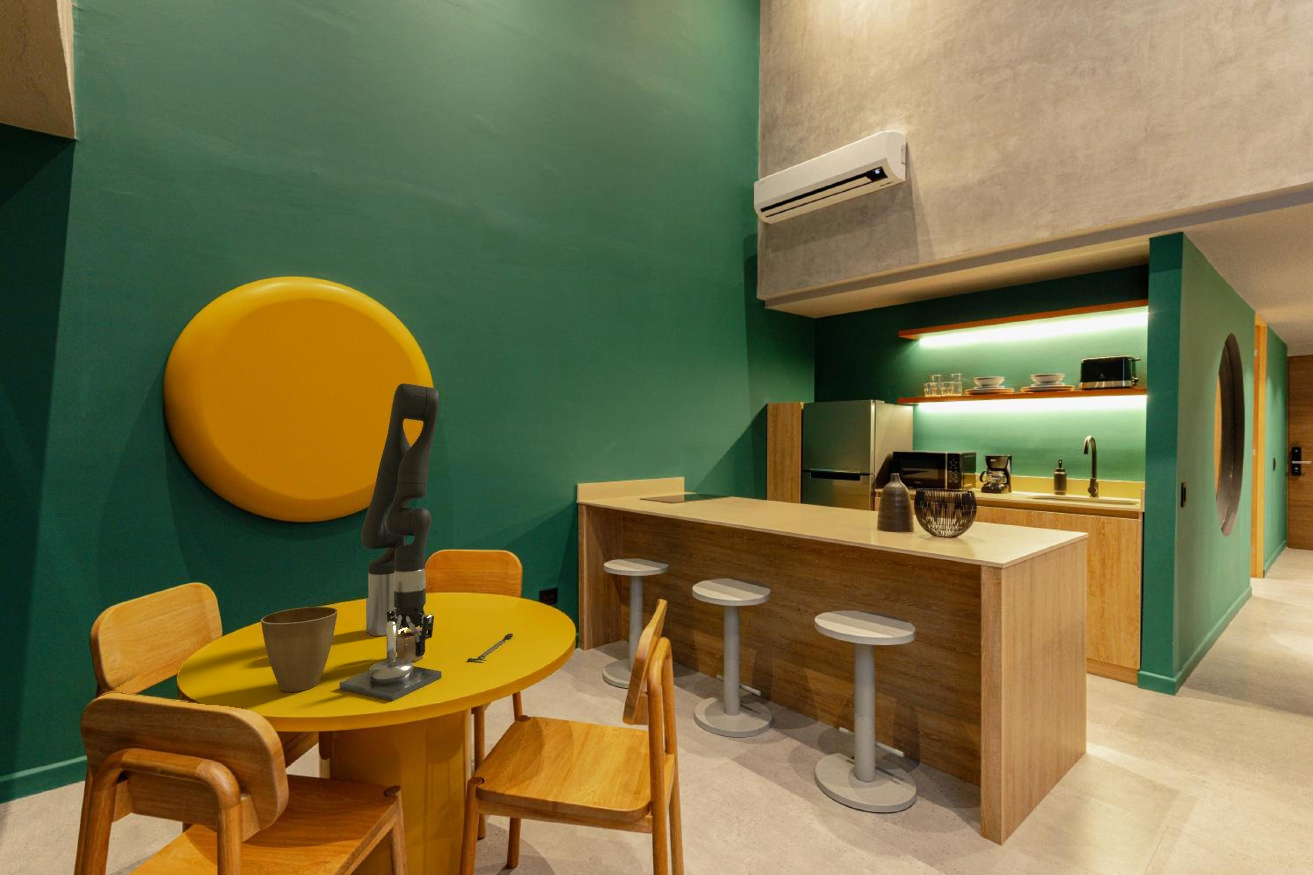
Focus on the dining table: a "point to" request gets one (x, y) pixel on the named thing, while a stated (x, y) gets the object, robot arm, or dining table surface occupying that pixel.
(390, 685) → the piston base
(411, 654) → the copper ring
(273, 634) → the plant pot
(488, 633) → the dining table surface
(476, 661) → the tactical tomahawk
